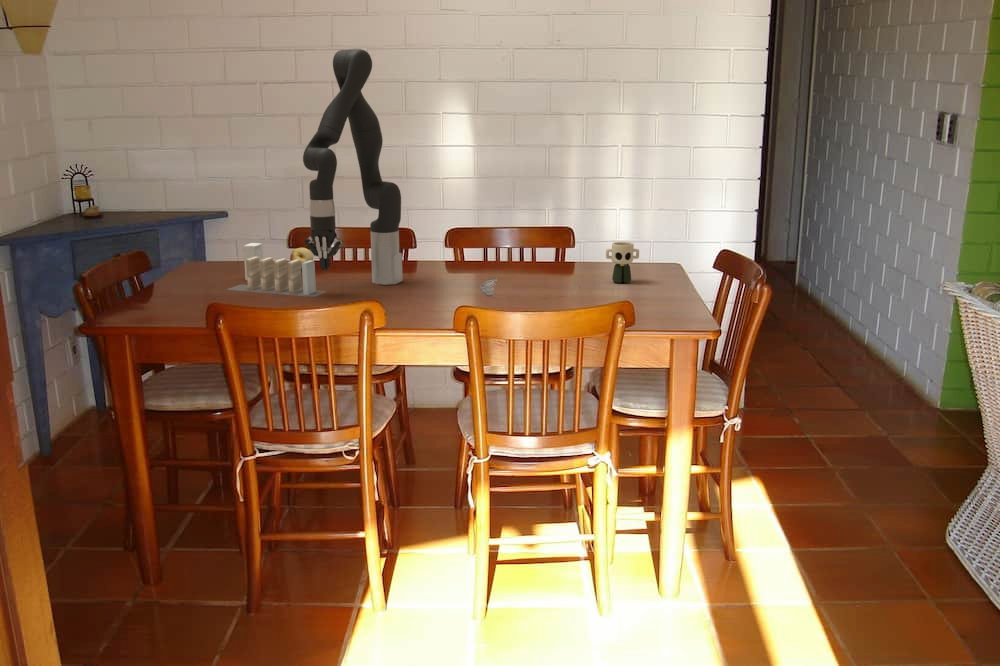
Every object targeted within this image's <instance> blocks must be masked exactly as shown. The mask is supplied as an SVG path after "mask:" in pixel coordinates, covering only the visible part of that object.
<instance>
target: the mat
mask: <svg viewBox="0 0 1000 666" xmlns="http://www.w3.org/2000/svg"><path fill="white" fill-rule="evenodd" d="M227 290H228V291H238V292H248V293H249V292H251V293H261V294H262V293H263V294H275V295H286V296H287V295H288V296H299V297H308V296H309V297H311V298H316V297H318V296H320V295H322V294H323V295H324V293H327V292H328V291H327V290H316V292H314V293H312V294H309V295H303V288H302V291H300V292H297V293H295V294H289V287H288V290H286V291H283V292H281V293H277V292H275V288H274V289H272V290H269V291H267V292H264V291H262V287H261V288H258V289H255V290H253V291H252V290H248V284H241V283H240V284H239V285H235V286H232V287H229V288H227V289H226V291H227ZM309 297H308V298H309Z"/></svg>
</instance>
